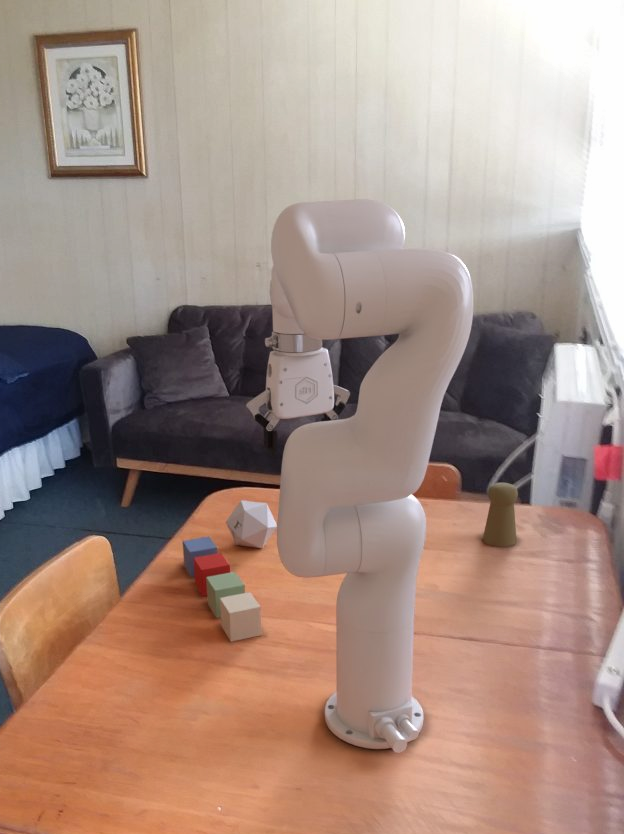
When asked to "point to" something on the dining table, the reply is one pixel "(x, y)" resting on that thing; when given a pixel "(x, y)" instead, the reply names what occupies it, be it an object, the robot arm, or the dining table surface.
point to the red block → (209, 569)
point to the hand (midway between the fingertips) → (300, 447)
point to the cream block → (240, 616)
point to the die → (251, 524)
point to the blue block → (197, 551)
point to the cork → (501, 515)
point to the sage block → (222, 589)
